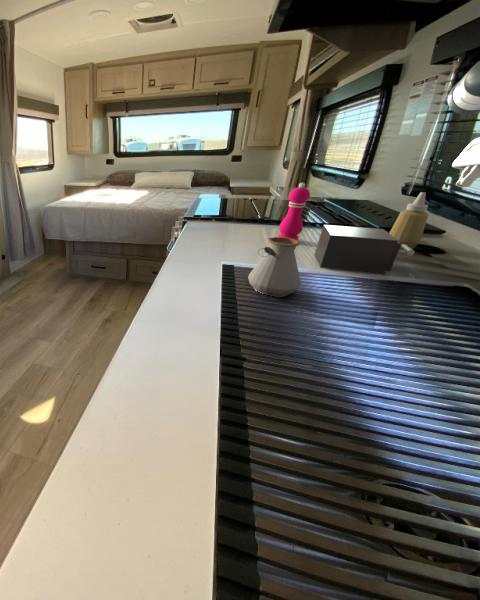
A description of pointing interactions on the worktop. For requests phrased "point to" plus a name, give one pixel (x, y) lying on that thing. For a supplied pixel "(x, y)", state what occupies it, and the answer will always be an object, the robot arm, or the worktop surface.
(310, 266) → the worktop surface
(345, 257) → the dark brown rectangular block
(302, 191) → the pepper mill
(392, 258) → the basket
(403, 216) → the squeeze bottle
